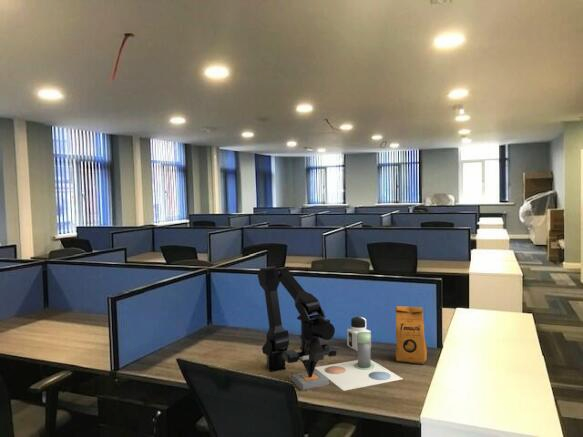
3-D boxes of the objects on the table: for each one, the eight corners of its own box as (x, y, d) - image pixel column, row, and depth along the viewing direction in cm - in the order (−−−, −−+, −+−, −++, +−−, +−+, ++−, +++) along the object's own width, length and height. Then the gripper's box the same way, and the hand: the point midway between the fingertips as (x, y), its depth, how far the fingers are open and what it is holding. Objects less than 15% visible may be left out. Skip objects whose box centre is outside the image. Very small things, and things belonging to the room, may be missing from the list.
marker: (365, 369, 180) (365, 336, 179) (354, 366, 184) (354, 334, 183) (373, 365, 184) (373, 333, 183) (362, 362, 187) (362, 331, 187)
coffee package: (425, 366, 184) (425, 310, 183) (393, 363, 188) (392, 308, 187) (428, 358, 193) (428, 304, 192) (397, 355, 198) (397, 302, 197)
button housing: (303, 391, 163) (302, 384, 163) (292, 381, 173) (292, 374, 173) (329, 386, 167) (329, 379, 167) (317, 376, 176) (317, 370, 176)
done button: (306, 386, 167) (306, 380, 166) (301, 381, 171) (301, 375, 171) (319, 384, 168) (319, 378, 168) (313, 379, 173) (313, 373, 173)
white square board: (343, 392, 161) (343, 390, 161) (314, 369, 184) (314, 367, 184) (403, 381, 170) (403, 378, 170) (368, 360, 192) (368, 357, 192)
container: (356, 351, 204) (355, 321, 203) (347, 345, 211) (346, 317, 211) (371, 348, 207) (371, 318, 207) (361, 343, 214) (361, 314, 214)
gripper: (293, 343, 158) (294, 389, 159) (343, 336, 165) (344, 380, 166) (281, 334, 168) (282, 378, 169) (328, 328, 175) (329, 369, 176)
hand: (310, 376), depth 170 cm, fingers closed, pressing on done button
